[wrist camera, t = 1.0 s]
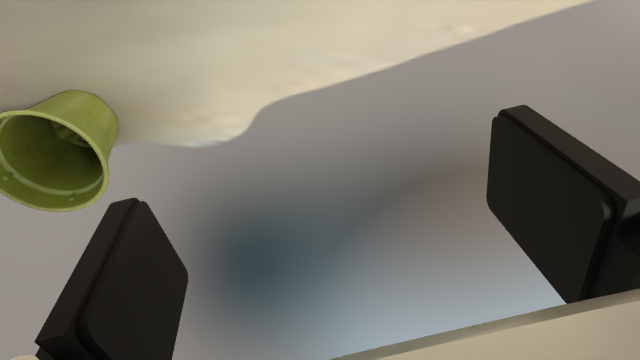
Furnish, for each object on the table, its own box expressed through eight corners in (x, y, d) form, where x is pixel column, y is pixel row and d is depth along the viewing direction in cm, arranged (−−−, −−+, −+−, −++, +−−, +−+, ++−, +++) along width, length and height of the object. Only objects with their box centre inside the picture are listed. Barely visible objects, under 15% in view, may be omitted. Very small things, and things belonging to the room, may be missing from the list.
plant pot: (138, 166, 40) (111, 217, 33) (38, 154, 38) (-14, 206, 31) (135, 83, 35) (103, 121, 28) (20, 63, 33) (-45, 100, 26)
